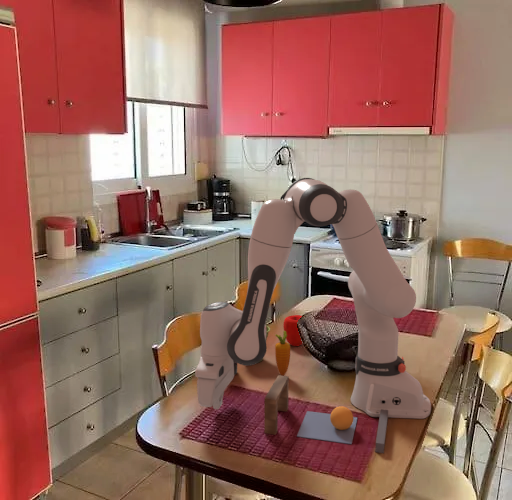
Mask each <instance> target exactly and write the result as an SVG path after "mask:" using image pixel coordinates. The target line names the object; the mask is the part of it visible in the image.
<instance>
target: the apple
mask: <svg viewBox="0 0 512 500" xmlns="http://www.w3.org/2000/svg"><path fill="white" fill-rule="evenodd" d="M302 316H303V315H300V314H296V315H295V314H294V315H288V316H286V317H285V318H284V320H283V325H282V326H283V332H284V331H286V335H287V337H286V340H285V341H286V342H287V343H289V345H290V346H292V347H299V346H301V345H303V343H302V341H301V338H300V335H299V332H298V328H297V322H298V320H299V319H300V318H301V317H302Z"/></svg>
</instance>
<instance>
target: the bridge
mask: <svg viewBox="0 0 512 500" xmlns="http://www.w3.org/2000/svg"><path fill="white" fill-rule="evenodd" d="M289 377H290V376H288V375H284V376H281V375H279V374H278V375H277V377H276V378H275V379H274V382H273V383H272V385H271V387H270V388H269V390H268V392H267V394H266V395H265V396H264V404H263V405H264V406H263V407H264V417H263V419H264V421H263V422H264V427H263V428H264V429H263V430H264V434H267V435H274V436H275V435H276V434H277V433H278V425H279V424H278V421H279V420H278V419H279V418H278V415H279V413H278V411H279V412H280V411H281V412H288V410H289V388H290V387H289V386H290V385H289V383H290V382H289Z"/></svg>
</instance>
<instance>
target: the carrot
mask: <svg viewBox="0 0 512 500" xmlns="http://www.w3.org/2000/svg"><path fill="white" fill-rule="evenodd" d="M275 337H276V338H277V339H278V341H279V342H276V343H275V345H274V351H275V352H274V353H275V363H276V367H277V370H278V373H279V374H280V375H281V376H286V374H287V371H288V368H289V365H290V360H291V345H290V344H289V343H288V342H287V340H286V337H287V335H286V331H284V330H283V335H282V336H281V335H280V334H275Z"/></svg>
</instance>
